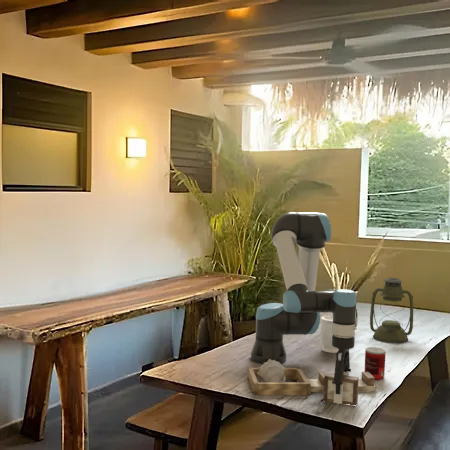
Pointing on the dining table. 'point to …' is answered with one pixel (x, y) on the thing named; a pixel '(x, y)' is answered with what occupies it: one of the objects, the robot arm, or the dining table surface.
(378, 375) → the canned food
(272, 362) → the seashell
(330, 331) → the jar
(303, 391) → the shell cradle
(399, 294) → the lantern
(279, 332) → the robot arm
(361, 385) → the ledge
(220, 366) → the dining table surface
